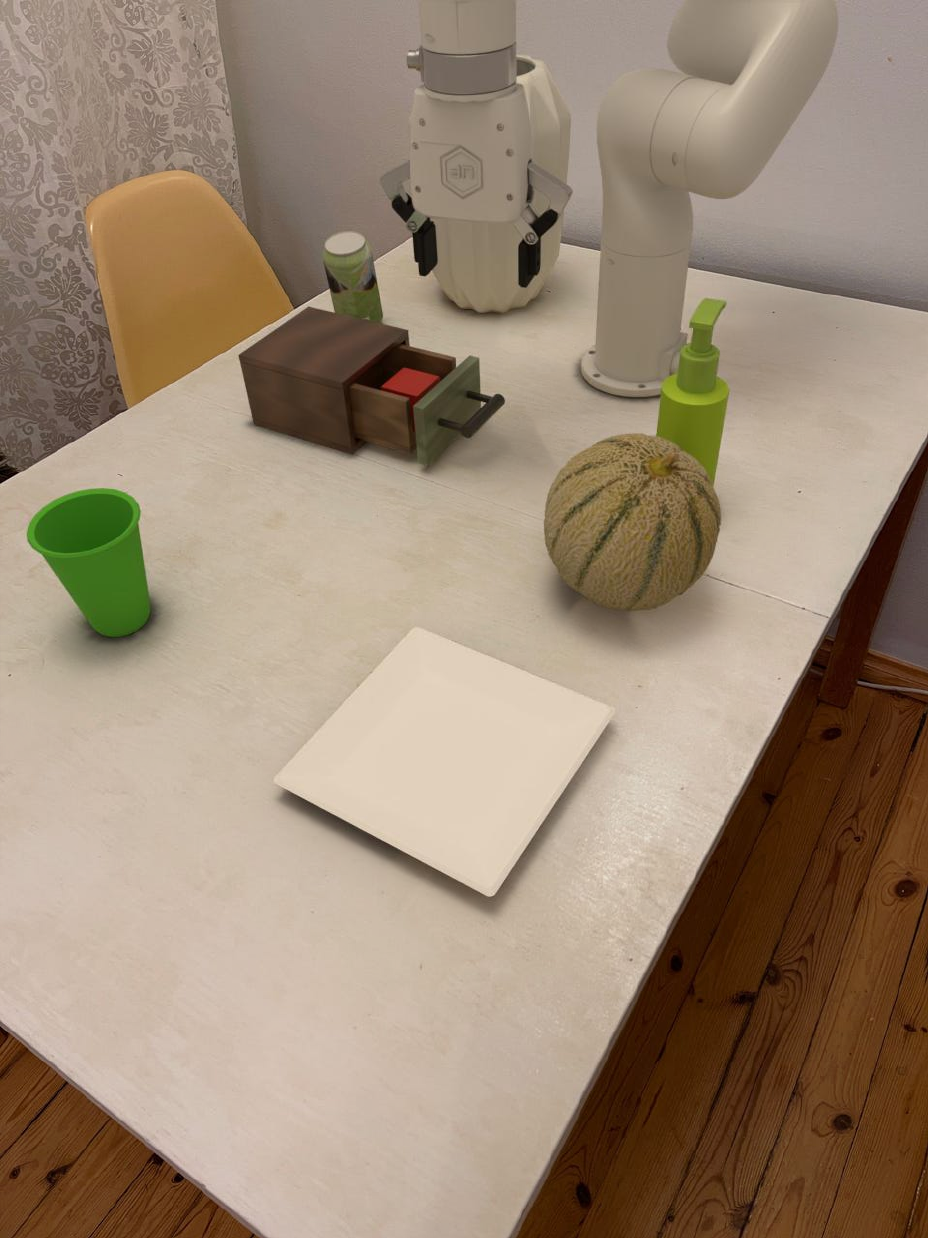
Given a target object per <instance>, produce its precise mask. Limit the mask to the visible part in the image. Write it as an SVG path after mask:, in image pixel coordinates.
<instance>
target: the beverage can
mask: <svg viewBox="0 0 928 1238" xmlns="http://www.w3.org/2000/svg"><path fill="white" fill-rule="evenodd" d="M322 261H323V266H324V271H325V275H326V280H327V284H328V289H329V293H330V297H331V303H332V307H333V311H334V313H338V314H342V315H347V316H351V317H355V318H359V319H364V320H368V321H372V322H376V323H381V324H382V321H383V319H384V312H383V306H382V300H381V296H380V290H379V285H378V278H377V272H376V268H375V267H376V266H375V262H374V255H373V250H372V246H371V245H370V243H369V242H368V241H367V240H366V238H365V236H364V234H361V233H360V232H358V231H351V230H349V231H347V230H346V231H340V232H337V233H334V234H332V235H331V236H329V237H328V238H327V239H326V240H325V242H324V249H323V250H322Z"/></svg>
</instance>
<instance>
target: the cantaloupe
mask: <svg viewBox="0 0 928 1238" xmlns="http://www.w3.org/2000/svg"><path fill="white" fill-rule="evenodd" d="M721 525H722V511H721V504H720V499H719V497H718V495H717V493H716V490H715V487H713V484H712V482H711V479H710V477H709V475H708V474H707V472H706V470H705V469H704V468H703V467H702V465H701V464H700V463H699V462H698V460H696V459H695V458H694V457H692V456H691V455H689V454H688V453H687V452H685V451H684V450H683V449H681V448H680V447H679V446H677V445H676V444H674V443H673V442H670V441H668V440H666V439H663V438H660V437H656V435H655V436H654V435H647V434H645V433H639V432H638V433H636V432H634V433H633V432H632V433H624V434H617V435H614V436H609V437H606V438H604V439H602V440H600V441H597V442H596V443H595V444H594V443H593V444H592V446H589V447H587V448H585V449H584V450H581V451H580V452H578V453H576V454H575V455H574V456H573V457H571V458H570V460H568V461H567V462H566V464H565V466H563V467H562V468H561V469H559V471H558V473H557V475H556V477H555V478H554V480H553V482H552V483H551V485H550V488H549V490H548V492H547V496H546V501H545V510H544V520H543V534H544V544H545V547H546V551H547V552H548V553H547V554H548V556H549V559H551V562H552V563H553V565H554V566H555V568H556V571H557V573H558V575H559V576H560V577H561V578H562V579H563V581H564V582H565V583H566V584H567V585H568V586H569V587H570V588H572V589H573V590H575V592H577V593H579V594H580V595H581V596H582V597H584V598H585V599H587V600H588V601H590V602H591V603H594V604H597V605H598V606H601V607H602V608H608V609H611V610H615V611H628V612H635V611H650V610H655V609H658V608H660V607H662V606H664V605H666V604H668V603H669V602H671V601H673V600H674V599H675V598H676V597H679V596H682V595H683V594H684V593H685V592H686V591H687V590H689V589H691V588H692V586H694V585H695V584H696V583H697V582H698V580H699V579H700V578H702V576H703V575H704V573H705V572H706V571H707V569H708V567H709V565H710V563H711V562H712V560H713V557H714V554H715V551H716V546H717V542H718V538H719V535H720V531H721V528H720V527H721Z"/></svg>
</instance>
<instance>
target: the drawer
mask: <svg viewBox="0 0 928 1238" xmlns="http://www.w3.org/2000/svg"><path fill="white" fill-rule="evenodd" d="M480 365H481V364H480V357H479V356H474V355H468V356H467V357H466V358H465V359H464V360H463V361H461V363H460V364H458V365H457V357H455V356H452V355H448V354H443V353H439V352H435V351H431V350H428V349H423V348H419V347H415V346H411V345H410V346H407V345H403V344H399V345H398V346H397V347H395V348H394V349H393V350H392V351H390V352H389V353H388V354H387V355H385V356H384V357H383V358H382V359H380V360H379V361H378V362H377V363H376V364H374V365H373V366H372V367H371V368H369V369H368V370H367V371H366V372H364V373H363V374H362V375H361V376H360V377H358V378H357V379H356V380H355V381H353V382H352V383H351V384H350V385H348V386H347V388H348V395H349V402H350V409H351V416H352V423H353V430H354V437H355V438H358V439H361V440H364V441H367V442H369V443H372V444H374V445H378V446H382V447H386V448H388V449H391V450H396V451H398V452H402V453H406V454H409V455H412V454H413V453H414V452H415V451H417V452H416V455H417V464H419V465H423V466H426V467H429V466H430V465H431V464H432V463H433V462H434V461H435V460H436V459H437V458H438V457H439V456H440V455H441V454H442V453H443V452H444V451H445V450H446V449H447V448H448V447H449V446H450V445H451V444H452V443H454V441H455V440H456V439H457V438H458V437H459V436H460V435H462V437H464V438H466V439H471V438H472V437H473V436H474V435H475V434H476V433H478V431H479V430H481V428H482V427H483V426H484V425H485V424H487V422H488V421H489V420H490V419H491V418H492V417H493V416H494V415H495V414H496V413H497V412H498V411H499V410H500V409H502V407H503V406H504V405H505V403H506V399H505V397H504V395H502V394H500V393H495V394H494V395H492V396H491V395H487V394H485V393H481V369H480V367H481V366H480ZM403 368H408V369H412V370H416V371H420V372H424V373H428V374H432V375H436V376H439V377H440V383H438V384H437V385H436V386H435V387H434V388H433V389H432V390H431V391H430V392H428V393H427V394H426V395H425V396H424V397H423V398H422V399H421V400H419V401H418V402H417V403H416V404H415V405H414V406H413V411H414V422H415V432H414V431H413V429H412V418H411V407H410V398H407V397H404V396H400V395H396V394H392V393H389V392H385V391H382V390H381V386H383V385H384V384H385V383H386V382H387V381H388V380H390V379H391V378H392V377H393V376H394V375H396V374H397V373H398V372H399V371H400V370H402V369H403ZM482 403H484V404H483V405H482Z"/></svg>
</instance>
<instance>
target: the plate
mask: <svg viewBox="0 0 928 1238" xmlns="http://www.w3.org/2000/svg"><path fill="white" fill-rule="evenodd" d="M616 711H617V710H616V708H615V707H614V706H611V705H609V704H606V703H604V702H602V701H599V700H597V699H594V698H592V697H589V696H587V695H585V694H582V693H580V692H577V691H575V690H572V689H570V688H568V687H565V686H563V685H560V684H558V683H555V682H553V681H551V680H549V679H546V678H543V677H541V676H538V675H536V674H534V673H531V672H529V671H526V670H524V669H522V668H519V667H517V666H514V665H511V664H509V663H507V662H504V661H502V660H499V659H497V658H495V657H492V656H490V655H487V654H486V653H483V652H480V651H478V650H475V649H473V648H471V647H468V646H466V645H463V644H462V643H461V644H460V643H459V642H456V641H453V640H451V639H449V638H446V637H444V636H441V635H439V634H437V633H434V632H431V631H430V630H427V629H424V628H422V627H419V626H414V627H412V628H411V629H410V630H409V631H408V633H406V635H405V636H404V637H403V638H401V640H400V641H399V642H398V644H396V645H395V646H394V648H393V649H392V650H390V652H389V653H388V654H387V655H386V656H385V657H384V658H383V660H381V662H380V663H379V664H378V665H377V666H376V667H375V668H374V669H373V670H372V671H371V672H370V674H369V675H368V676H367V677H366V678H365V679H364V680H363V681H362V682H361V683H360V684H359V685H358V687H357V688H356V689H355V690H354V691H352V693H351V694H350V695H349V696H348V697H347V698H346V700H344V702H343V703H342V704H341V705H340V706H339V707H338V708H337V709H336V710H335V712H333V713H332V715H331V716H330V717H329V718H328V719H327V720H326V721H325V722H324V723H323V724H322V726H320V727H319V729H318V730H316V732H315V733H314V734H313V735H312V736H311V737H310V738H309V740H307V742H305V744H304V745H303V746H302V747H301V748H300V749H299V750H298V751H297V752H296V753H295V755H294V756H293V757H292V758H291V759H290V760H289V761H288V762H287V763H286V764H285V765H284V766H283V768H282V769H281V770H279V772H278V773H277V774H276V775H275V776H274V777H273V780H272V781H273V783H274V784H275V785H278V786H279V787H281V788H283V789H285V790H287V791H289V792H291V793H292V794H294V795H295V796H298V797H300V798H302V799H303V800H306V801H308V802H309V803H311V804H313V805H315V806H316V807H318V808H320V809H322V810H325V812H328V813H330V814H332V815H334V816H336V817H337V818H339V819H341V820H343V821H345V822H347V823H348V824H351V825H353V826H354V827H356V828H358V829H360V830H361V831H364V832H366V833H368V834H370V835H372V836H373V837H374V838H377V839H379V840H381V841H383V842H385V843H387V844H389V845H390V846H392V847H394V848H395V849H397V850H399V851H401V852H403V853H405V854H407V855H409V856H411V857H413V858H415V859H417V860H418V861H420V862H422V863H424V864H426V865H428V866H430V867H431V868H434V869H435V870H437V871H439V872H441V873H443V874H445V875H446V876H449V877H450V878H452V879H454V880H456V881H458V882H459V883H462V884H463V885H465V886H467V887H469V888H471V889H473V890H475V891H477V892H478V893H481V894H483V895H484V896H486V897H488V898H489V897H493V896H495V895H496V894H497V892H498V891H499V889H500V888H501V886H502V884H503V883H504V881H505V880H506V878H507V877H508V875H510V872H511V871H512V869H513V868H514V866H515V865H516V864H517V862H518V860H519V859H520V857H521V856H522V855H523V853H524V851H525V850H526V848H527V847H528V845H529V844H530V842H531V840H532V839H533V837H534V836H535V835H536V833H537V831H538V830H539V828H540V827H541V825H542V824H543V822H544V821H545V819H546V818H547V817H548V815H549V813H550V812H551V811H552V809H553V807H554V806H555V804H556V803H557V801H558V800H559V798H560V797H561V795H562V794H563V792H564V790H565V789H566V787H568V785H569V783H570V782H571V780H572V779H573V777H574V776H575V774H576V773H577V771H578V770H579V768H580V767H581V765H582V763H583V762H584V760H585V759H586V758H587V756H588V754H589V753H590V752H591V750H592V749H593V747H594V745H595V744H596V742H597V741H598V740H599V738H600V736H601V735H602V734H603V732H604V731H605V729H606V727H607V726H608V724H609V723H610V721H611V720H612V718H613V717H614V715H615V713H616Z"/></svg>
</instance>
